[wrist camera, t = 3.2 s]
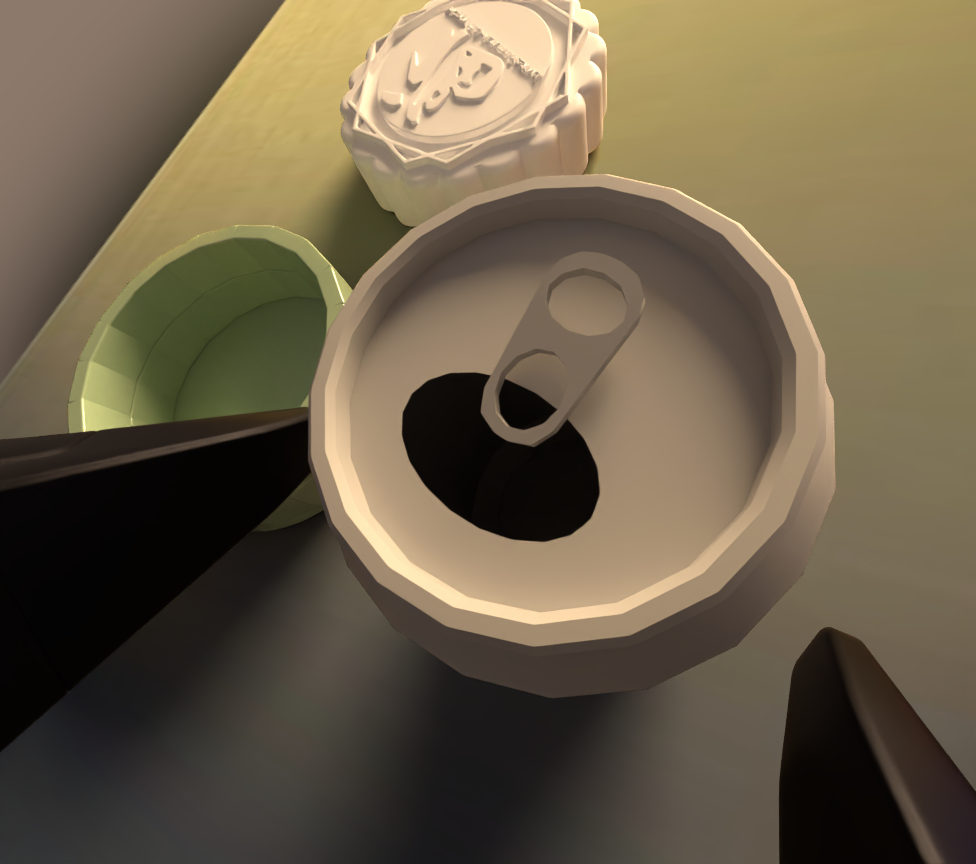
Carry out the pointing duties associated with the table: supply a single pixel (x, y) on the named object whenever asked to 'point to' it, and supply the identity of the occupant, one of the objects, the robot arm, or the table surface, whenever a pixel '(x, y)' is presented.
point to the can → (574, 434)
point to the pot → (213, 339)
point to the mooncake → (475, 101)
